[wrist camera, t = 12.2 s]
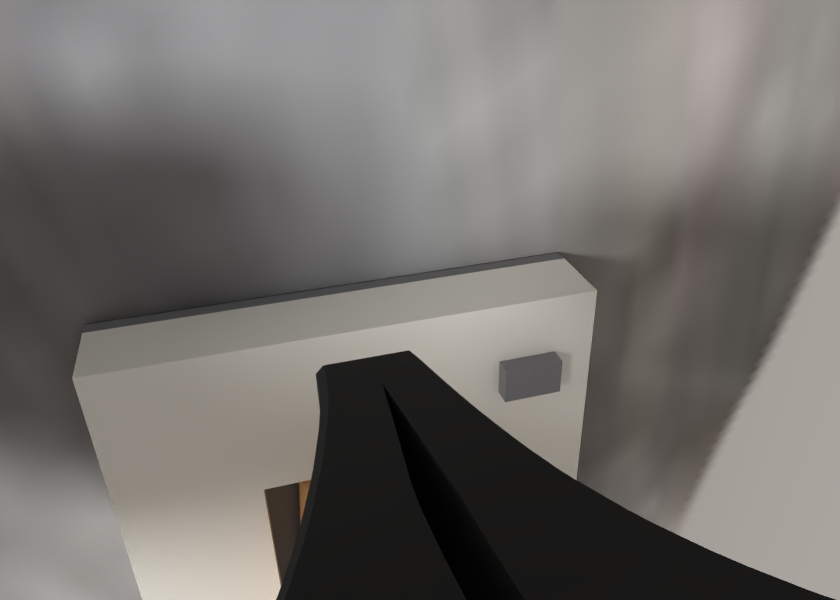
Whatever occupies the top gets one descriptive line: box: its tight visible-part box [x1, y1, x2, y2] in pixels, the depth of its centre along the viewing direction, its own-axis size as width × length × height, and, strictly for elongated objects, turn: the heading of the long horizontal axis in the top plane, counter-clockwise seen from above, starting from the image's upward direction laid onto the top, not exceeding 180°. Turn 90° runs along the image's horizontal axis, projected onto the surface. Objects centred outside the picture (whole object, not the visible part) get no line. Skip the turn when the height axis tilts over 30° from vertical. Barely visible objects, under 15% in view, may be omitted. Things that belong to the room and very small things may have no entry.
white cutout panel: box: [72, 253, 597, 600], centre depth 23 cm, size 13×16×3 cm
